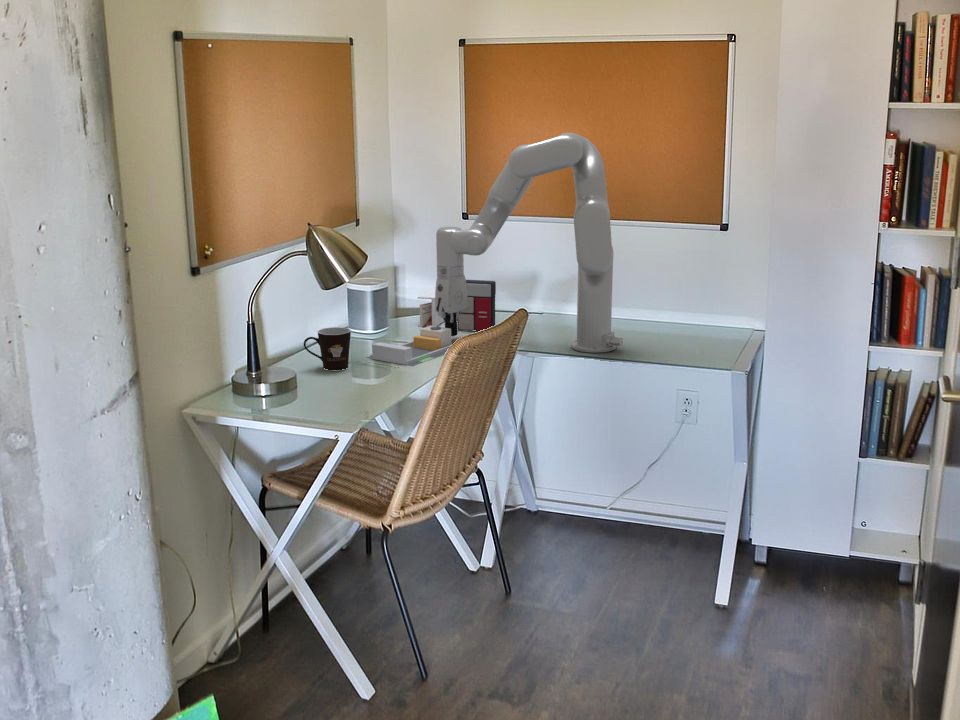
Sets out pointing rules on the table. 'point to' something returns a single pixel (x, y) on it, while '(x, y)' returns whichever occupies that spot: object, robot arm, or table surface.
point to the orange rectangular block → (427, 343)
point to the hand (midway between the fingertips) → (451, 335)
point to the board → (404, 353)
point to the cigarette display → (429, 310)
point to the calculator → (478, 306)
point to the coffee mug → (333, 347)
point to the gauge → (437, 334)
